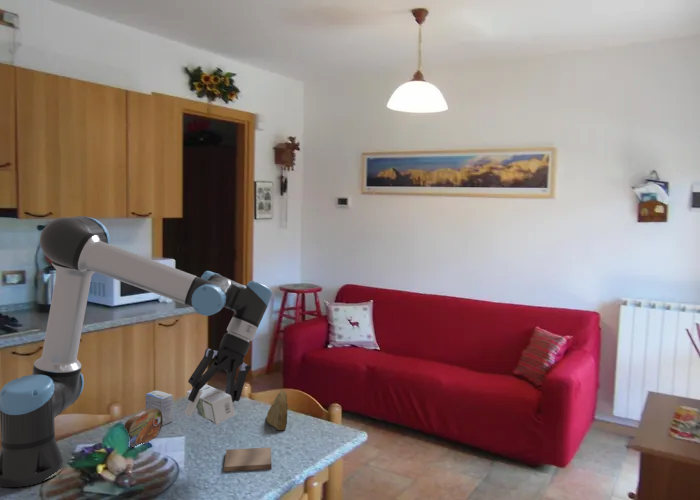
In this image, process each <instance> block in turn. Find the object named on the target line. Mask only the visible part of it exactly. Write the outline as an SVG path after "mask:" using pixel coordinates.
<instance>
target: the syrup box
mask: <svg viewBox="0 0 700 500" xmlns="http://www.w3.org/2000/svg"><path fill="white" fill-rule="evenodd" d="M191 391H192V389H190V390H187V391H186V395H187V398H188V397H189V395H190V393H191ZM200 391H202V394H201V396H200V398H199V401H198V403H197V405H196V407H195V409H194V412H193V413H195V414H197V415H199V416H200V417H202V418H204V419H206V420H208V421H210V422H211V423H212V424H214V423H215V424H214V425H216V424H217V423H219V422H220V423H221V422H224V421H226V420H228V419H230V418H232V417H234V416H236V412H235V409H234V408H235V407H234V402H232V398H231V395H229V394H226V393H225V392H224V391H222V390H220V389H217V388H215V387H213V386H211V385H208V384H207V383H206V384H205V385H204V386H203V387H202V388H201V389H200ZM220 423H219V424H220Z"/></svg>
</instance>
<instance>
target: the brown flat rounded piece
mask: <svg viewBox="0 0 700 500" xmlns="http://www.w3.org/2000/svg"><path fill="white" fill-rule="evenodd" d="M162 422H163V418H162V413H161V411H160V410H159V409H146V408H145V410H143V411H141V412H139V413H138V414H136V415H133V416H132V417H130V418H129V419H128V420H127V421H126V422H125V423H124V425H123V427H124V426H125V428H126V429H127V431H128V433H129V437H130V446H131V447H135V446H137V445H139V444H141V443H142V444H143V443H145V444H147V443H148V442H150V441H151V440H154V439H155V438H156V437H158V436H159V434H160V432H161V431H162V427H163V425H162ZM146 442H147V443H146Z"/></svg>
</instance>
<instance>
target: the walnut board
mask: <svg viewBox="0 0 700 500" xmlns="http://www.w3.org/2000/svg"><path fill="white" fill-rule="evenodd" d="M225 451H226V452H225V459H224V466H223V471H224V472H234V471H237V472H238V471H252V470H253V471H254V470H255V471H256V470H271V469H272V448H271V446H270V447H256V448H253V447H252V448H232V449H225Z"/></svg>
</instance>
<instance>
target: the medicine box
mask: <svg viewBox="0 0 700 500" xmlns="http://www.w3.org/2000/svg"><path fill="white" fill-rule="evenodd" d="M146 409H159V410H160V411H161V413H162V418H163V422H162V426H165V425H167V424H170V423H172V422H174V395H173V394H171V393H167V392H164V391H161V390H152V391H150V392H148V393H145V410H146Z"/></svg>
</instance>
